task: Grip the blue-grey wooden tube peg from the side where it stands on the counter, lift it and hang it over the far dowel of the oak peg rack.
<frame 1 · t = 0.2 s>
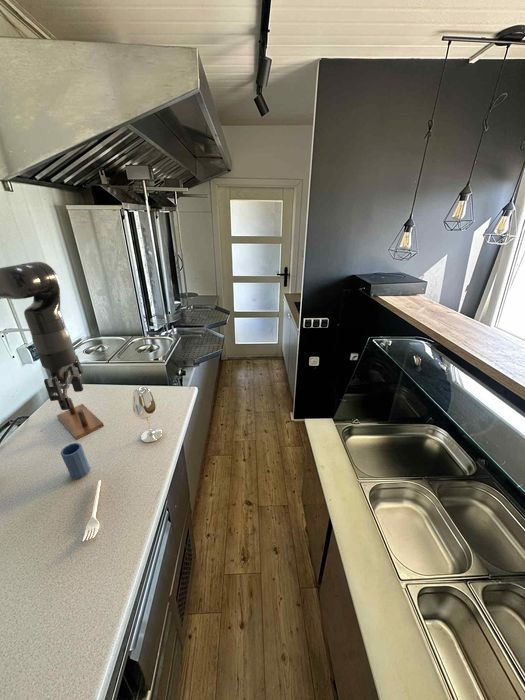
hand: (73, 399, 78), 30 cm above the countertop, tool pointing down, fingers open, 8 cm apart
fork: (95, 510, 82), on the countertop
tube peg: (80, 471, 93), on the countertop
wineglass: (151, 435, 108), on the countertop
peg rack: (80, 421, 116), on the countertop
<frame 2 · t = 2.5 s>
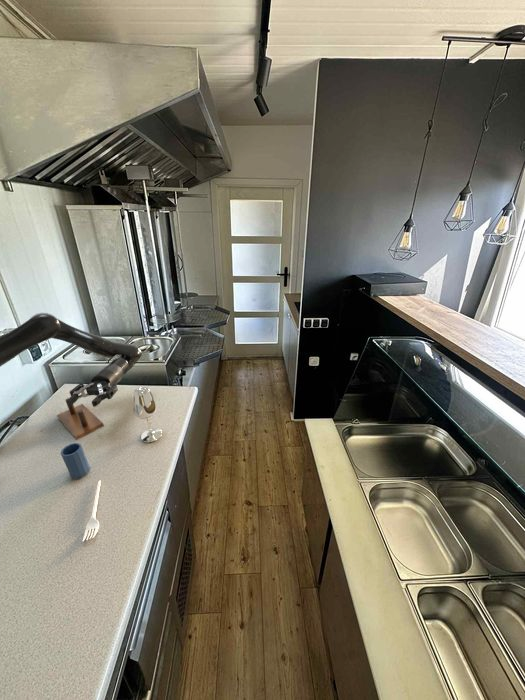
hand: (81, 404, 93), 20 cm above the countertop, tool horizontal, fingers open, 8 cm apart
nothing on the countertop moved.
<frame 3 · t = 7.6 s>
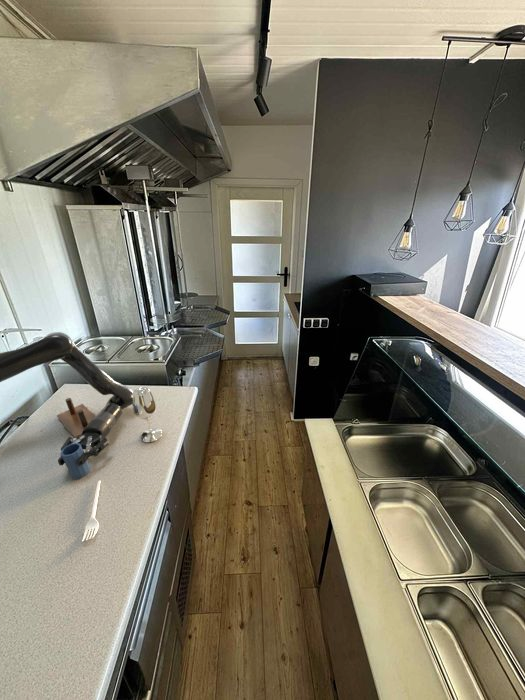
hand: (69, 463, 88), 7 cm above the countertop, tool horizontal, fingers closed on tube peg, 5 cm apart
tube peg: (80, 471, 93), on the countertop, touching gripper
everything else where it was.
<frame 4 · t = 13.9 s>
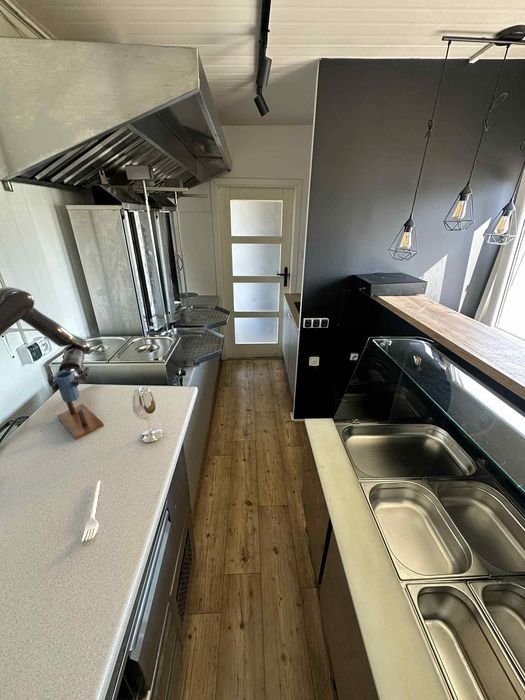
hand: (65, 386, 101), 21 cm above the countertop, tool horizontal, fingers closed on tube peg, 5 cm apart
tube peg: (71, 397, 106), point 14 cm above the countertop, touching gripper
everything else where it was.
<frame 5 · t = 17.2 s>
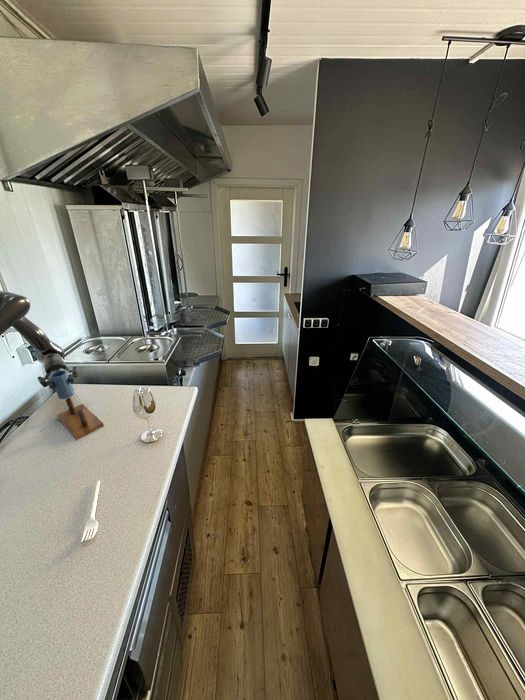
hand: (62, 384, 110), 17 cm above the countertop, tool horizontal, fingers closed on tube peg, 5 cm apart
tube peg: (66, 395, 115), point 11 cm above the countertop, touching gripper
everything else where it was.
when the fingers open (8 cm above the countertop, at t = 20.2 s): tube peg stays where it is, resting on peg rack.
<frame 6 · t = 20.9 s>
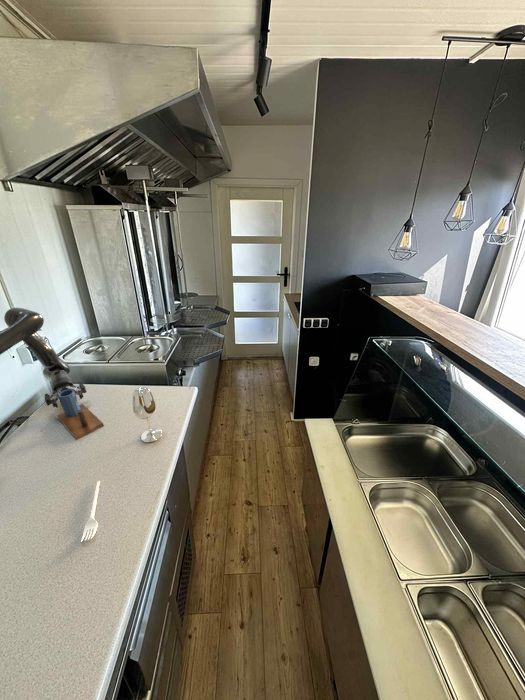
hand: (68, 401, 114), 8 cm above the countertop, tool horizontal, fingers open, 8 cm apart
tube peg: (73, 413, 119), point 1 cm above the countertop, touching peg rack
everything else where it was.
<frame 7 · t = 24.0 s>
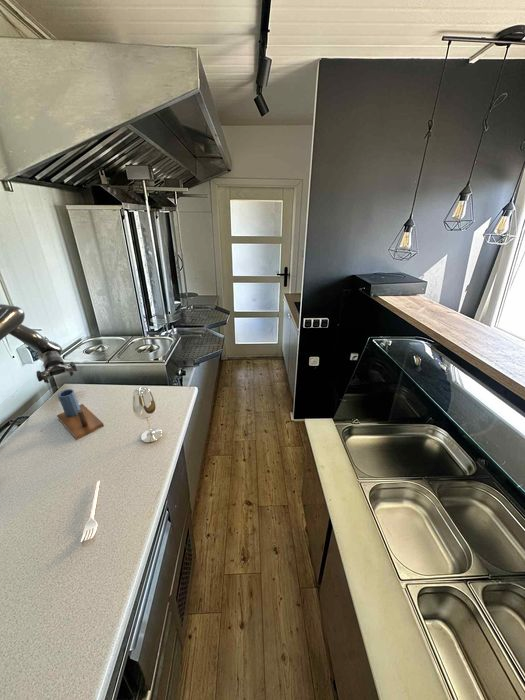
hand: (59, 377, 120), 14 cm above the countertop, tool horizontal, fingers open, 8 cm apart
nothing on the countertop moved.
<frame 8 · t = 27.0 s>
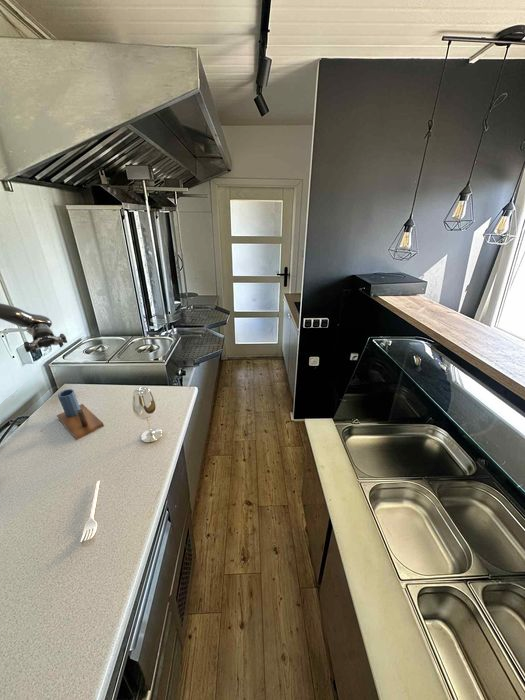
hand: (48, 348, 114), 28 cm above the countertop, tool horizontal, fingers open, 8 cm apart
nothing on the countertop moved.
at the end: tube peg 0.1 cm from the target spot on the peg rack, point 1.5 cm above the peg rack's base; tube peg tilted 0°; the gripper is holding nothing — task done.
